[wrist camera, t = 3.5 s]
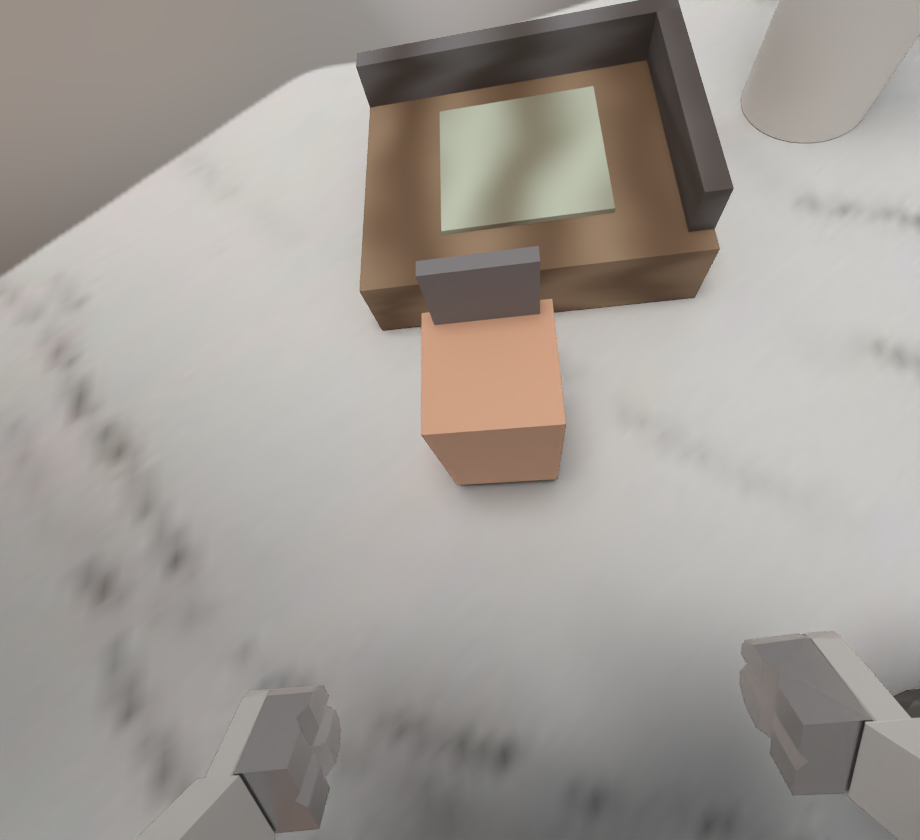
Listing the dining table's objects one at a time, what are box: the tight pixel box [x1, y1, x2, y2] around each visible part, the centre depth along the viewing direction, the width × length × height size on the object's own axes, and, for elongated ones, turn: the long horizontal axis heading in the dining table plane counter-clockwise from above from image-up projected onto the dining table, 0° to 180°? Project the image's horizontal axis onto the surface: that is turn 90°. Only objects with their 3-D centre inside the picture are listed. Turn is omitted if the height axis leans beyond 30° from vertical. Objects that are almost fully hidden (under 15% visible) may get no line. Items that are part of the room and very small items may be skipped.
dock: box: [356, 0, 734, 330], centre depth 28 cm, size 18×15×6 cm
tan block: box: [416, 246, 566, 485], centre depth 20 cm, size 5×5×12 cm
